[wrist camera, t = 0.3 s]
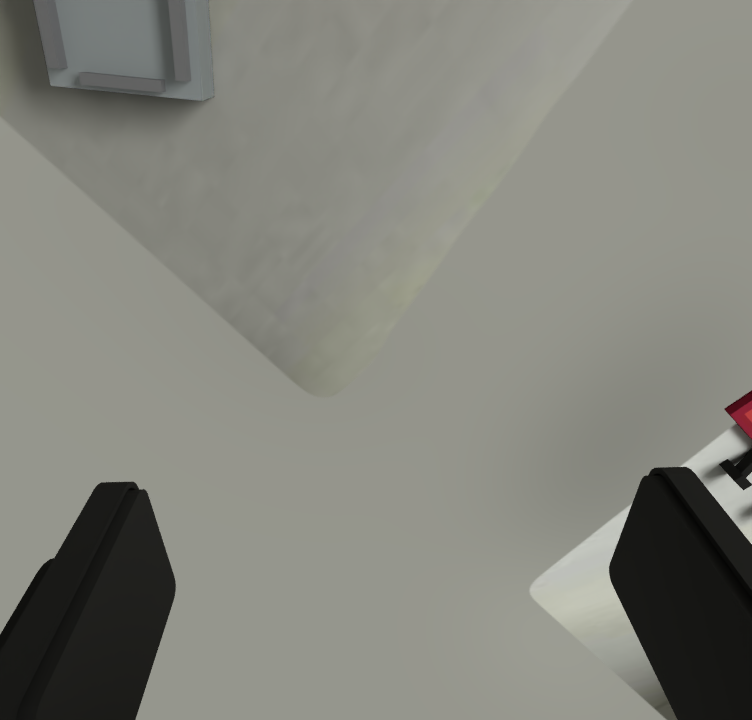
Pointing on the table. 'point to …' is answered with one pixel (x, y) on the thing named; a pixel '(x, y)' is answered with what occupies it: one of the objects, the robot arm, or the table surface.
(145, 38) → the grey tray
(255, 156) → the table surface
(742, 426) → the red board with handle
